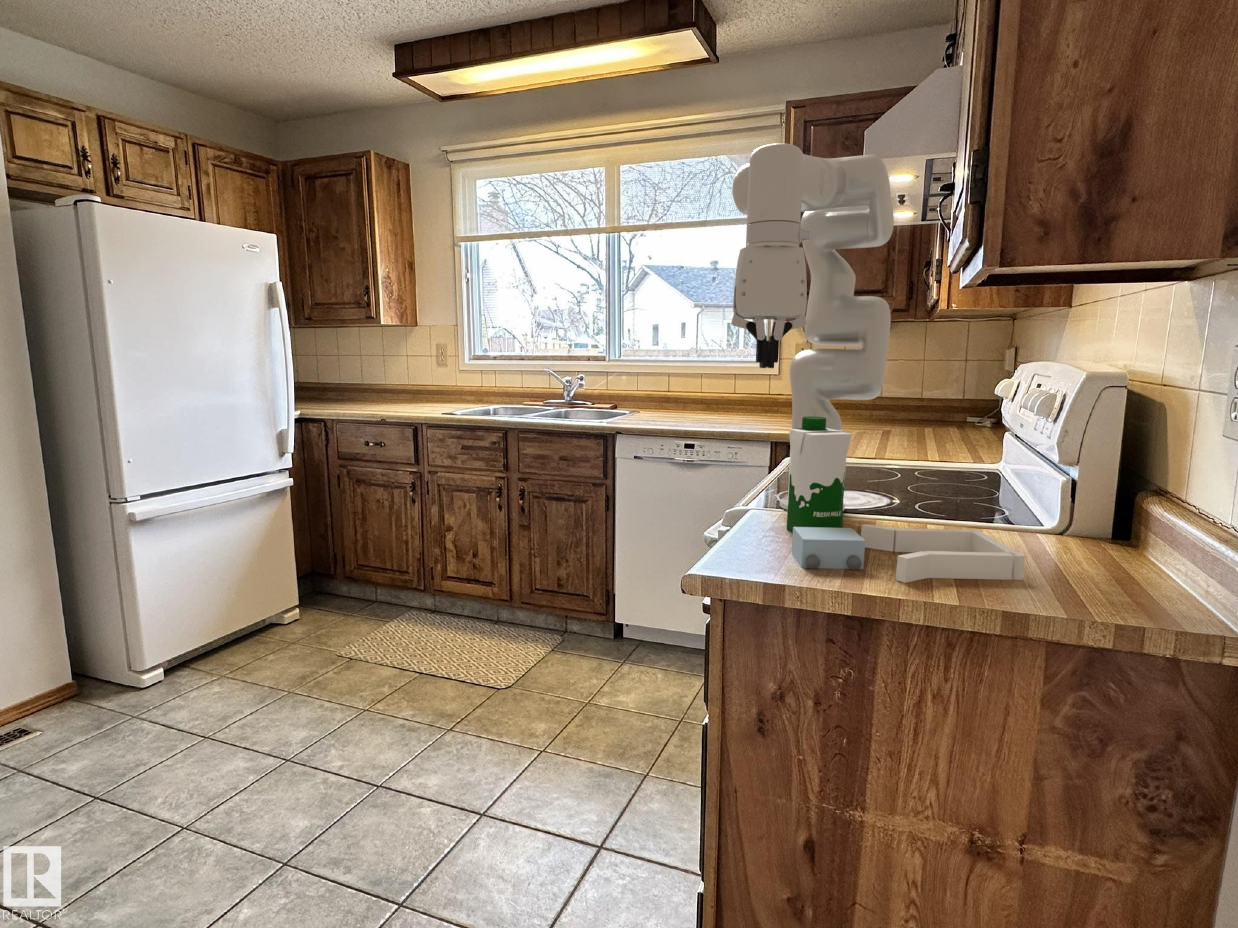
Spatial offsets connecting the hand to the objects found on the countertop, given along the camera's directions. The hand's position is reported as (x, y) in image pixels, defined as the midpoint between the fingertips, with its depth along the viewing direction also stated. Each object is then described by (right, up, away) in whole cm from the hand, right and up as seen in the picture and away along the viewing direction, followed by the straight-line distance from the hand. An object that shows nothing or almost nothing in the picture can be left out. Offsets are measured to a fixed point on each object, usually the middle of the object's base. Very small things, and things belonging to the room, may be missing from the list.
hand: (766, 367), depth 103 cm
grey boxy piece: (+10, -29, +3) cm, 31 cm away
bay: (+26, -29, +2) cm, 39 cm away
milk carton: (+12, -27, +18) cm, 35 cm away
